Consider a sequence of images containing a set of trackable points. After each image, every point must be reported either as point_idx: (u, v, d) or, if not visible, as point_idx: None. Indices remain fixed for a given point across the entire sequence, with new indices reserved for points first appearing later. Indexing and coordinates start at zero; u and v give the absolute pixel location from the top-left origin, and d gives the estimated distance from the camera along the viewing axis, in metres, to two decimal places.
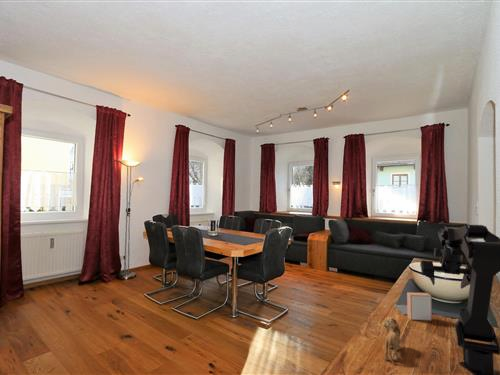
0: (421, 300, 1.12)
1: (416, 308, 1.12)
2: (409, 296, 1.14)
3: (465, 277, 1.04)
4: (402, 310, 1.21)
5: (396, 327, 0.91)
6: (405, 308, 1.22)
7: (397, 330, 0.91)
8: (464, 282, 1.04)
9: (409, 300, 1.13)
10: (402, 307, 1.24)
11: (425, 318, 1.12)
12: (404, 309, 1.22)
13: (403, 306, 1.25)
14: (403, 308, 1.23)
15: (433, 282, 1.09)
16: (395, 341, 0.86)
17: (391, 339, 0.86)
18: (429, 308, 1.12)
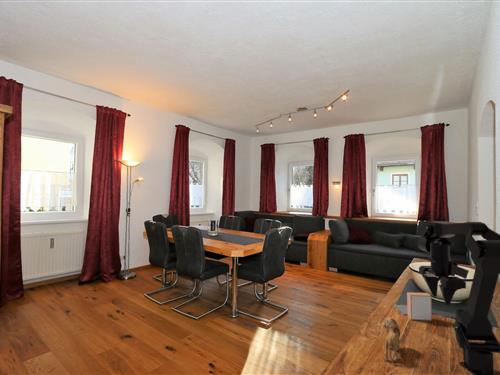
0: (421, 300, 1.12)
1: (416, 308, 1.12)
2: (409, 296, 1.14)
3: None
4: (402, 310, 1.21)
5: (396, 327, 0.91)
6: (405, 308, 1.22)
7: (397, 330, 0.91)
8: None
9: (409, 300, 1.13)
10: (402, 307, 1.24)
11: (425, 318, 1.12)
12: (404, 309, 1.22)
13: (403, 306, 1.25)
14: (403, 308, 1.23)
15: (430, 289, 1.03)
16: (395, 342, 0.86)
17: (390, 340, 0.85)
18: (429, 308, 1.12)
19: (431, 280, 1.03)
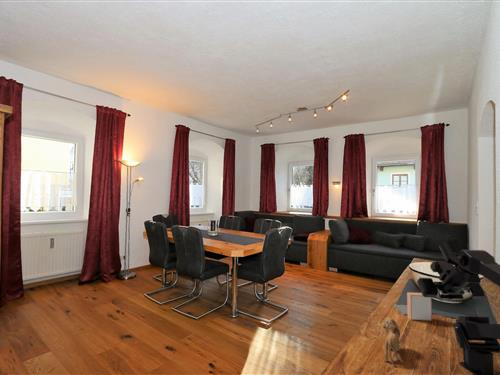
0: (421, 300, 1.12)
1: (416, 308, 1.12)
2: (409, 296, 1.14)
3: None
4: (402, 310, 1.21)
5: (395, 328, 0.91)
6: (405, 308, 1.22)
7: (397, 331, 0.90)
8: None
9: (409, 300, 1.13)
10: (402, 307, 1.24)
11: (425, 318, 1.12)
12: (404, 309, 1.22)
13: (403, 306, 1.25)
14: (403, 308, 1.23)
15: (443, 300, 0.96)
16: (395, 342, 0.85)
17: (390, 341, 0.85)
18: (429, 308, 1.12)
19: None
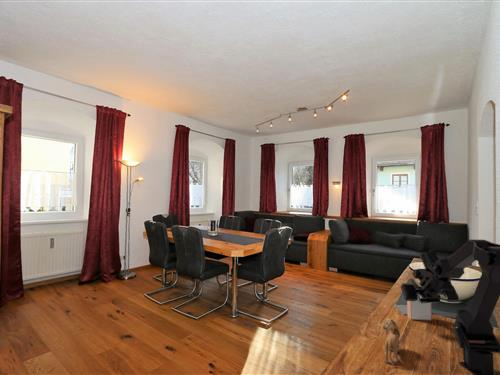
0: None
1: (416, 308, 1.12)
2: None
3: None
4: (402, 310, 1.21)
5: (395, 329, 0.90)
6: (405, 308, 1.22)
7: (396, 332, 0.90)
8: (427, 300, 1.08)
9: None
10: (402, 307, 1.24)
11: (425, 318, 1.12)
12: (404, 309, 1.22)
13: (403, 306, 1.25)
14: (403, 308, 1.23)
15: (423, 302, 1.10)
16: (395, 343, 0.85)
17: (391, 342, 0.84)
18: (429, 308, 1.12)
19: None
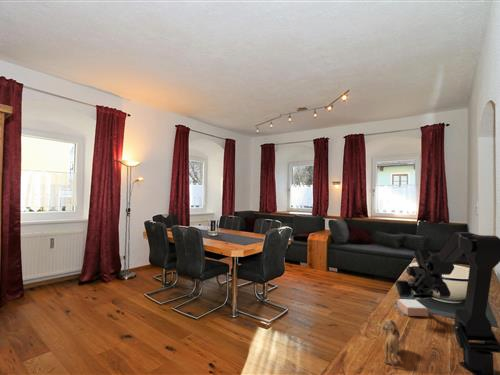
0: (408, 300, 1.23)
1: (407, 303, 1.20)
2: (398, 302, 1.25)
3: None
4: None
5: (395, 329, 0.90)
6: None
7: (396, 332, 0.89)
8: (421, 296, 1.13)
9: (399, 302, 1.23)
10: None
11: (420, 307, 1.16)
12: None
13: None
14: None
15: None
16: (395, 344, 0.84)
17: (391, 342, 0.84)
18: (419, 303, 1.20)
19: None
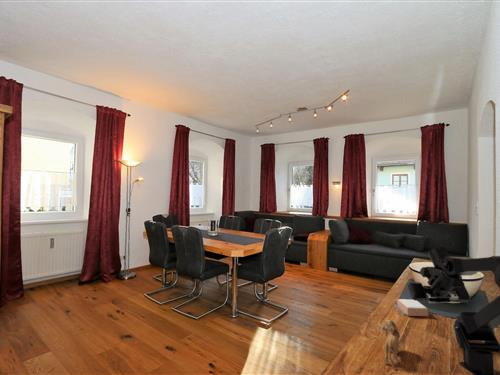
0: (408, 300, 1.23)
1: (407, 303, 1.20)
2: (398, 302, 1.25)
3: None
4: None
5: (395, 330, 0.89)
6: None
7: (396, 333, 0.89)
8: None
9: (399, 302, 1.23)
10: None
11: (420, 307, 1.16)
12: None
13: None
14: None
15: (432, 303, 1.03)
16: (395, 345, 0.84)
17: (391, 343, 0.84)
18: (419, 303, 1.20)
19: None
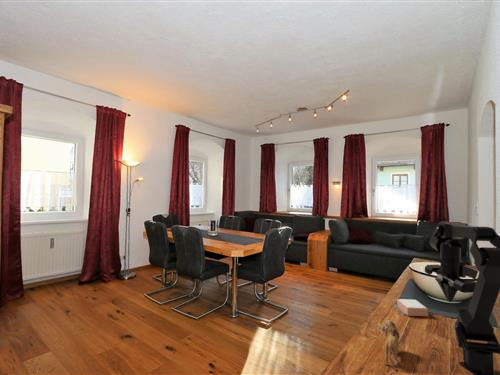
0: (408, 300, 1.23)
1: (407, 303, 1.20)
2: (398, 302, 1.25)
3: None
4: None
5: (395, 330, 0.89)
6: None
7: (396, 333, 0.89)
8: None
9: (399, 302, 1.23)
10: None
11: (420, 307, 1.16)
12: None
13: None
14: None
15: (444, 294, 0.98)
16: (395, 345, 0.83)
17: (391, 344, 0.83)
18: (419, 303, 1.20)
19: None
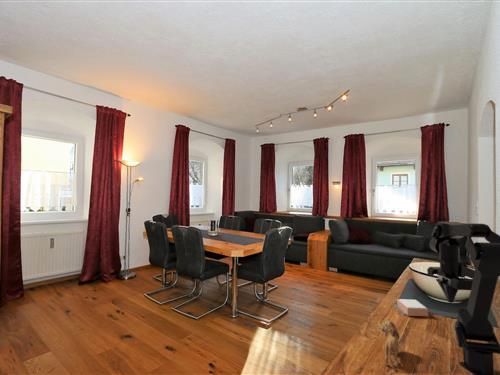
0: (408, 300, 1.23)
1: (407, 303, 1.20)
2: (398, 302, 1.25)
3: None
4: None
5: (395, 331, 0.89)
6: None
7: (396, 334, 0.88)
8: None
9: (399, 302, 1.23)
10: None
11: (420, 307, 1.16)
12: None
13: None
14: None
15: (445, 294, 0.98)
16: (395, 346, 0.83)
17: (391, 344, 0.83)
18: (419, 303, 1.20)
19: None
